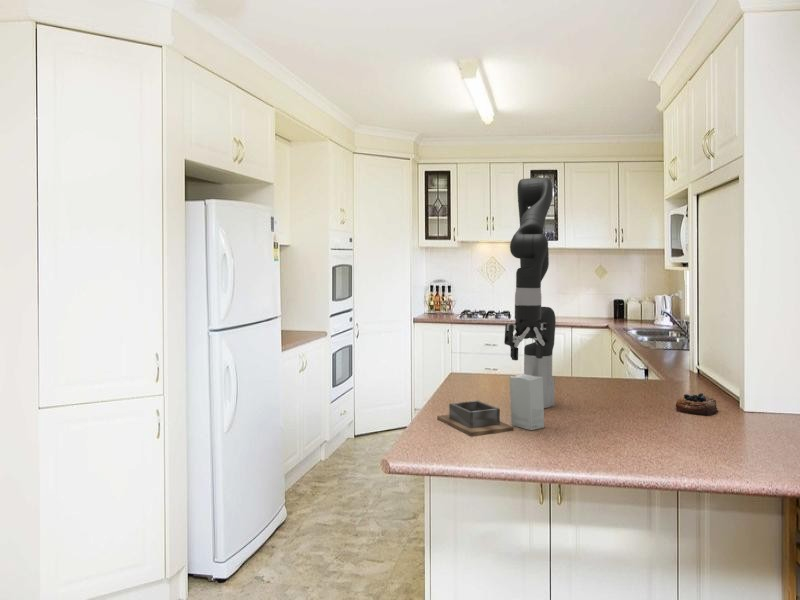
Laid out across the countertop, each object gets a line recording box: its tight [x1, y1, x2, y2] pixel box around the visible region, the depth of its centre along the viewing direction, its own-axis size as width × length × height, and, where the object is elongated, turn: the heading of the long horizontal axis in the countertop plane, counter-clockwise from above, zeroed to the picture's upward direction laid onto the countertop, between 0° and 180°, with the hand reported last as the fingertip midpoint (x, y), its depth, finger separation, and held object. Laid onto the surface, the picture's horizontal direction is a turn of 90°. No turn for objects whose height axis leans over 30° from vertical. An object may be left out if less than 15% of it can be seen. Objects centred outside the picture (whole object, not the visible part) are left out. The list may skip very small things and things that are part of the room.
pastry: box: [675, 392, 719, 417], centre depth 194 cm, size 11×12×6 cm
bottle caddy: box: [436, 400, 514, 437], centre depth 177 cm, size 14×20×6 cm
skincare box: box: [509, 373, 545, 431], centre depth 175 cm, size 8×6×15 cm
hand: (527, 359), depth 174 cm, fingers open, 8 cm apart
